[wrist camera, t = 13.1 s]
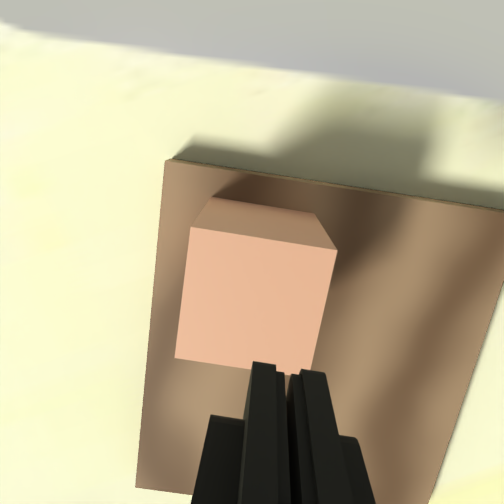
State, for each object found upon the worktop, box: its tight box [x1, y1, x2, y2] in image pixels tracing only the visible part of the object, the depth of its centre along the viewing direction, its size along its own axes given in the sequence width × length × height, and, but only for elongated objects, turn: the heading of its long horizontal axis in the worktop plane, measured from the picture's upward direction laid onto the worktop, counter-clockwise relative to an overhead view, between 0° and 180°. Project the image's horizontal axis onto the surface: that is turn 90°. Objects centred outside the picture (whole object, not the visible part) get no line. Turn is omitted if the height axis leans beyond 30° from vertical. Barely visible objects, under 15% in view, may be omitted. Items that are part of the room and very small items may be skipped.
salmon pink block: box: [175, 197, 337, 375], centre depth 19 cm, size 5×5×7 cm
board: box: [135, 159, 504, 504], centre depth 24 cm, size 18×20×2 cm
